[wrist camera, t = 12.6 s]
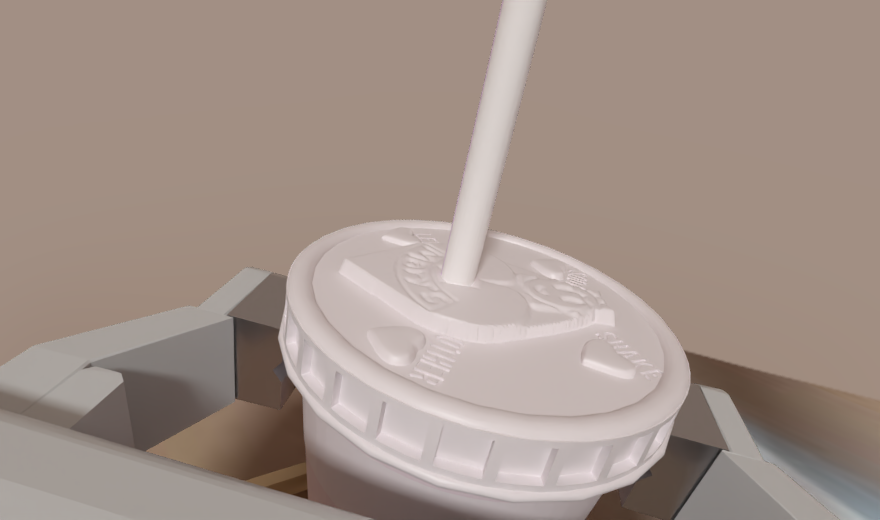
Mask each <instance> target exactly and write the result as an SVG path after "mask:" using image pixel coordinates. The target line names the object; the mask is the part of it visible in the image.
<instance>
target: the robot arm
mask: <svg viewBox="0 0 880 520" xmlns="http://www.w3.org/2000/svg"><path fill="white" fill-rule="evenodd" d="M286 283H287V276H284V275H280V274H277V273H273V272H270V271H266V270H261V269H258V268H254V267H246V268H244V269H243V270H242V271H241V272H239V273H238V274H237V275H236V276H235V277H233V278H232V279H231V280H230V281H229V282H227V283H226V284H225V285H224V286H223V287H221V288H220V289H219V290H218V291H216V292H215V293H214V294H213V295H212V296H210V297H209V298H208V299H207V300H206V301H204V302H203V303H202V304H201V305H199V306H198V307H193V306H186V307H182V308H178V309H174V310H170V311H166V312H162V313H158V314H155V315H151V316H147V317H143V318H139V319H135V320H131V321H127V322H124V323H119V324H116V325H112V326H108V327H104V328H101V329H96V330H93V331H88V332H84V333H81V334H77V335H73V336H69V337H65V338H61V339H57V340H54V341H50V342H46V343H42V344H38V345H34V346H32V347H30V348H29V349H27V350H26V351H24V352H23V353H21V354H19V355H18V356H16V357H15V358H13V359H12V360H10V361H9V362H7V363H5V364H4V365H2V366H1V367H0V520H375V519H372V518H368V517H365V516H362V515H358V514H355V513H352V512H348V511H345V510H341V509H338V508H335V507H331V506H328V505H325V504H321V503H318V502H314V501H311V500H308V499H304V498H301V497H298V496H294V495H291V494H287V493H284V492H281V491H277V490H274V489H271V488H267V487H264V486H260V485H257V484H254V483H250V482H247V481H244V480H240V479H237V478H233V477H230V476H227V475H223V474H220V473H217V472H213V471H210V470H206V469H203V468H200V467H196V466H193V465H190V464H186V463H183V462H180V461H176V460H173V459H169V458H166V457H163V456H159V455H156V454H153V453H149V452H146V450H148V449H150V448H152V447H153V446H155V445H157V444H159V443H161V442H162V441H164V440H166V439H168V438H170V437H171V436H173V435H175V434H177V433H179V432H181V431H182V430H184V429H186V428H188V427H190V426H191V425H193V424H195V423H197V422H199V421H200V420H202V419H204V418H206V417H208V416H210V415H211V414H213V413H215V412H217V411H219V410H220V409H222V408H224V407H226V406H228V405H229V404H231V403H233V402H235V399H238V400H242V401H246V402H250V403H254V404H258V405H262V406H266V407H270V408H274V409H278V410H281V408H282V407H283V405H284V404H285V402H286V401H287V399H288V398H289V396H290V395H291V393H292V392H293V390H294V389H295V385H294V384H293V382H292V381H291V380H290V378H289V377H288V375H287V371H286V368H285V364H284V360H283V356H282V352H281V348H280V345H279V341H278V335H279V331H280V326H281V321H282V317H283V312H284V308H285V301H286ZM619 495H620V500H621V505H622V507H623V508H627V509H630V510H633V511H636V512H639V513H643V514H646V515H649V516H652V517H655V518H659V519H662V520H839V519H838V518H837V517H836V516H835V515H833V514H832V513H831V512H830V511H829V510H828V509H826V508H825V507H824V506H823V505H822V504H820V503H819V502H818V501H817V500H816V499H815V498H813V497H812V496H811V495H810V494H809V493H808V492H806V491H805V490H804V489H803V488H802V487H801V486H799V485H798V484H797V483H796V482H795V481H794V480H792V479H791V478H790V477H789V476H788V475H786V474H785V473H784V472H783V471H782V470H781V469H779V468H778V467H777V466H776V465H775V464H772V463H769V462H765V461H764V459H763V458H762V456H761V454H760V452H759V450H758V448H757V446H756V445H755V443H754V441H753V439H752V437H751V435H750V433H749V431H748V430H747V428H746V426H745V424H744V422H743V420H742V418H741V417H740V415H739V413H738V411H737V409H736V407H735V405H734V403H733V402H732V400H731V398H730V396H729V395H728V394H727V393H726V392H725V391H723V390H722V389H717V388H713V387H709V386H704V385H700V384H695V383H694V384H693V383H690V387H689V391H688V395H687V397H686V399H685V400H684V402H683V404H682V406H681V408H680V410H679V412H678V414H677V416H676V418H675V420H674V425H673V428H672V431H671V434H670V438H669V441H668V444H667V447H666V450H665V454H664V456H663V457H662V458H661V459H660V460H659V461H657V462H656V463H655V464H654V465H653V466H652V467H651V468H650V469H649V470H648V471H647V472H645V473H644V474H643V475H642V476H641V477H640V478H639V479H638V480H637V481H636V482H634V483H633V484H631V485H628V486H625V487H622V488H619Z"/></svg>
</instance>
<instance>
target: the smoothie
mask: <svg viewBox="0 0 880 520" xmlns="http://www.w3.org/2000/svg"><path fill="white" fill-rule="evenodd" d="M546 3H547V0H502V4H501V9H500V14H499V18H498V22H497V27H496V31H495V35H494V40H493V44H492V49H491V53H490V58H489V62H488V67H487V71H486V75H485V80H484V84H483V89H482V93H481V98H480V102H479V106H478V111H477V115H476V120H475V124H474V129H473V133H472V138H471V142H470V146H469V151H468V156H467V160H466V164H465V169H464V173H463V177H462V183H461V186H460V191H459V195H458V200H457V205H456V209H455V213H454V217H453V222H452V223H449V222H441V221H427V220H387V221H378V222H368V223H363V224H359V225H354V226H350V227H345V228H343V229H340V230H337V231H335V232H333V233H330V234H327V235H325V236H323V237H321V238H320V239H319V240H317V241H315V242H313V243H312V244H310V245H309V246H308V247H306V248H305V249H304V250H303V251H302V252H301V253H300V254H299V255H298V256H297V258H296V259H295V261H294V262H293V263H292V266H291V268H290V270H289V273H288V277H287V283H286V301H285V308H284V312H283V317H282V321H281V326H280V331H279V335H278V341H279V345H280V348H281V352H282V356H283V360H284V364H285V368H286V371H287V375H288V377H289V378H290V380H291V381H292V382H293V384H294V385H295V387H296V388H297V389H298V391H299V392H300V393H301V395H302V396H303V428H304V442H305V450H306V469H307V488H308V500H311V501H314V502H318V503H321V504H325V505H328V506H331V507H335V508H338V509H341V510H345V511H348V512H352V513H355V514H358V515H362V516H365V517H368V518H372V519H375V520H585V519H586V517H587V516H588V514H589V513H590V512H591V510H592V509H593V507H594V506H595V504H596V503H597V501H598V500H599V498H600V497H601V495H602V494H604V493H607V492H610V491H613V490H616V489H619V488H622V487H625V486H628V485H631V484H633V483H634V482H636V481H637V480H638V479H639V478H640V477H641V476H642V475H643V474H644V473H645V472H647V471H648V470H649V469H650V468H651V467H652V466H653V465H654V464H655V463H656V462H657V461H659V460H660V459H661V458H662V457H663V456H664V454H665V450H666V447H667V444H668V441H669V438H670V434H671V431H672V428H673V425H674V420H675V418H676V416H677V414H678V412H679V410H680V408H681V406H682V404H683V402H684V400H685V399H686V397H687V395H688V391H689V387H690V368H689V363H688V360H687V357H686V354H685V352H684V350H683V348H682V346H681V344H680V342H679V340H678V338H677V337H676V335H675V334H674V333H673V332H672V330H671V329H670V328H669V326H668V325H667V324H666V323H665V321H664V320H663V318H661V317H660V316H659V315H658V314H657V313H656V312H655V311H654V310H653V309H652V308H651V307H650V306H649V305H648V304H647V303H646V302H644V300H642V299H641V298H640V297H638V296H637V295H636V294H634V293H633V292H632V291H630V290H629V289H628V288H626V287H625V286H623V285H622V284H620V283H619V282H617V281H616V280H614V279H612V278H611V277H609V276H607V275H605V274H604V273H602V272H601V271H599V270H597V269H595V268H593V267H591V266H589V265H587V264H585V263H583V262H581V261H579V260H577V259H575V258H573V257H571V256H569V255H566V254H563V253H561V252H559V251H556V250H554V249H552V248H549V247H547V246H544V245H541V244H538V243H535V242H532V241H529V240H526V239H523V238H520V237H516V236H513V235H509V234H505V233H502V232H498V231H494V230H489V229H488V228H489V224H490V220H491V216H492V212H493V208H494V204H495V201H496V197H497V193H498V189H499V185H500V181H501V177H502V174H503V170H504V166H505V162H506V158H507V154H508V150H509V146H510V143H511V139H512V135H513V131H514V127H515V123H516V119H517V116H518V112H519V108H520V104H521V100H522V96H523V92H524V88H525V85H526V81H527V77H528V73H529V69H530V65H531V61H532V58H533V54H534V50H535V46H536V42H537V38H538V35H539V31H540V27H541V23H542V19H543V15H544V11H545V8H546Z"/></svg>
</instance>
